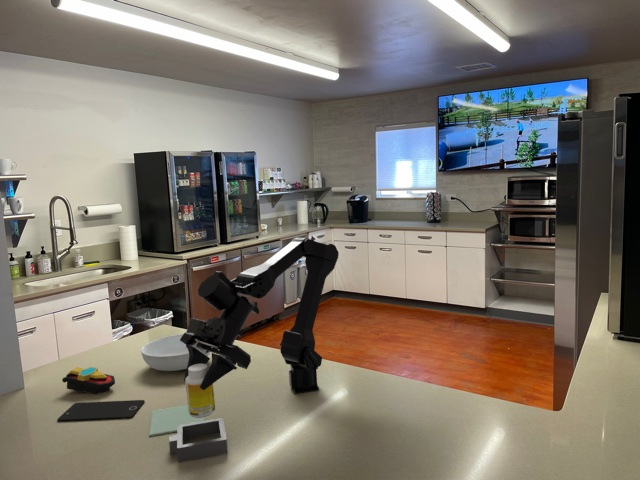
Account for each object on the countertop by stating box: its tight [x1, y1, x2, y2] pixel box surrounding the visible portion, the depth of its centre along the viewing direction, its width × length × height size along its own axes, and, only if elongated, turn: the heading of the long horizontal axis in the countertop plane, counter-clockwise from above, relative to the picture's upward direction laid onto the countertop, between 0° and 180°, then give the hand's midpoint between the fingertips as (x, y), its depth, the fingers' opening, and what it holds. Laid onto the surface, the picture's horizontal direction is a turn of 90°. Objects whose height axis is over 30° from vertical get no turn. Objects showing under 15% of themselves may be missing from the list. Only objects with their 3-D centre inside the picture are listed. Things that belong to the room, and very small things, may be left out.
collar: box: [168, 417, 228, 463], centre depth 101 cm, size 11×10×3 cm
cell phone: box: [56, 399, 146, 423], centre depth 119 cm, size 9×18×1 cm, turn 90°
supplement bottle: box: [184, 363, 216, 418], centre depth 103 cm, size 6×6×10 cm
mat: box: [148, 404, 206, 437], centre depth 113 cm, size 12×12×1 cm
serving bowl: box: [140, 333, 212, 372], centre depth 147 cm, size 21×21×7 cm
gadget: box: [61, 366, 116, 395], centre depth 131 cm, size 6×13×6 cm, turn 78°
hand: (193, 385), depth 101 cm, fingers closed on supplement bottle, 6 cm apart
